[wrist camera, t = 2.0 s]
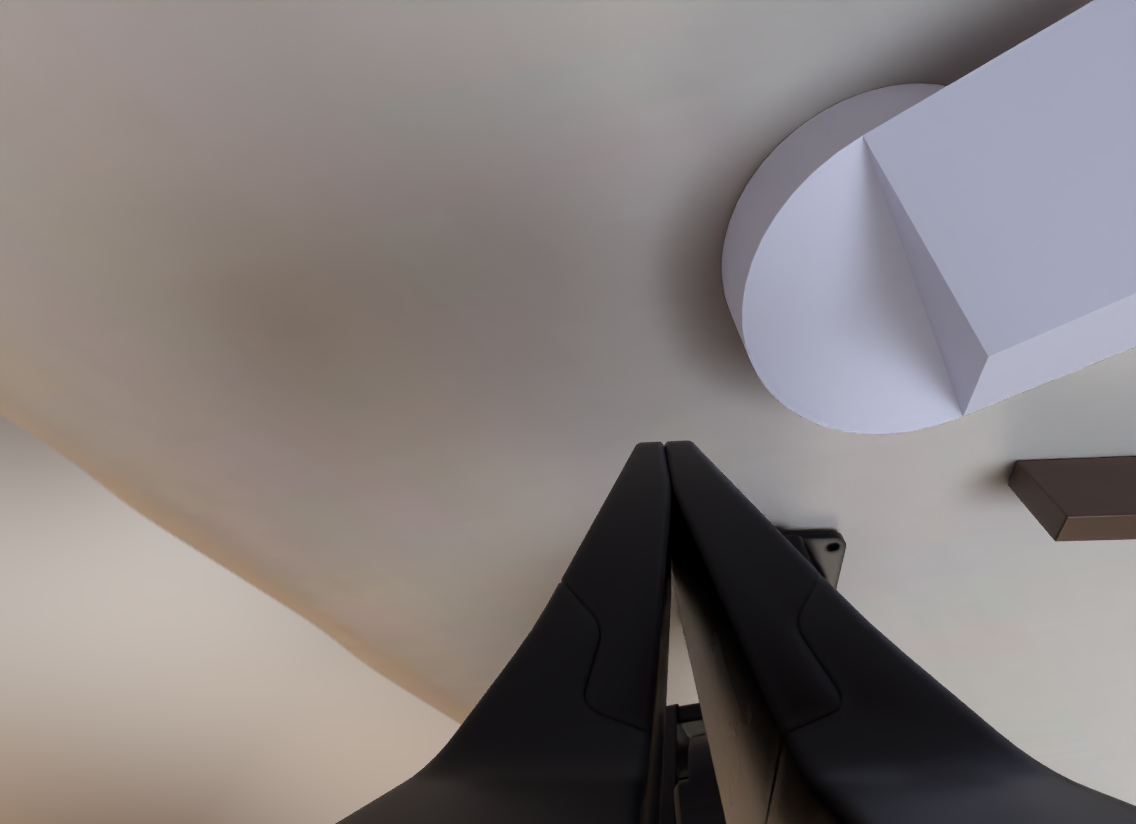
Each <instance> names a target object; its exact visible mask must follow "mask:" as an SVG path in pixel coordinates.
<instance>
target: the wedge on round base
mask: <svg viewBox="0 0 1136 824" xmlns="http://www.w3.org/2000/svg"><path fill="white" fill-rule="evenodd" d="M722 283H723V288H724V294H725V299H726V301H727V304H728V307H729V310H730V313H731V315H732V318H733V320H734V323H735V325H736V327H737V330H738V332H739V335H740V337H741V340H742V342H743V344H744V347H745V349H746V352H747V354H748V356H749V359H750V361H751V364H752V366H753V367H754V369H755V371H756V373H757V375H758V377H759V378H760V380H761V381H762V383H763V384H764V385H765V387H766V388H767V389H768V390H769V392H770V393H771V394H772V395H773V396H774V397H775V398H776V399H777V400H778V401H780V402H781V403H782V404H783V405H784V406H785V407H787V408H788V409H790V410H791V411H793V412H794V413H796V414H797V415H799V416H800V417H803V418H805V419H807V420H809V421H811V422H813V423H816V424H818V425H821V426H825V427H828V428H831V429H834V430H839V431H845V432H851V433H860V434H894V433H902V432H909V431H915V430H921V429H925V428H929V427H933V426H937V425H941V424H944V423H946V422H949V421H952V420H955V419H958V418H961V417H963V416H966V415H968V414H971V413H973V412H976V411H978V410H981V409H983V408H986V407H988V406H991V405H993V404H996V403H998V402H1001V401H1003V400H1005V399H1008V398H1010V397H1013V396H1015V395H1018V394H1020V393H1023V392H1025V391H1028V390H1030V389H1033V388H1035V387H1038V386H1040V385H1043V384H1045V383H1048V382H1050V381H1052V380H1055V379H1057V378H1060V377H1062V376H1065V375H1067V374H1070V373H1072V372H1075V371H1077V370H1080V369H1082V368H1085V367H1087V366H1090V365H1092V364H1095V363H1097V362H1100V361H1102V360H1104V359H1107V358H1109V357H1112V356H1114V355H1117V354H1119V353H1122V352H1124V351H1127V350H1129V349H1132V348H1134V347H1136V0H1093V1H1092V2H1090V3H1088V4H1087V5H1085V6H1083V7H1081V8H1080V9H1078V10H1076V11H1075V12H1073V13H1071V14H1069V15H1068V16H1066V17H1064V18H1063V19H1061V20H1059V21H1057V22H1056V23H1054V24H1052V25H1051V26H1049V27H1047V28H1046V29H1044V30H1042V31H1040V32H1039V33H1037V34H1035V35H1034V36H1032V37H1030V38H1028V39H1027V40H1025V41H1023V42H1022V43H1020V44H1018V45H1016V46H1015V47H1013V48H1011V49H1010V50H1008V51H1006V52H1004V53H1003V54H1001V55H999V56H998V57H996V58H994V59H993V60H991V61H989V62H987V63H986V64H984V65H982V66H981V67H979V68H977V69H975V70H974V71H972V72H970V73H969V74H967V75H965V76H963V77H962V78H960V79H958V80H957V81H955V82H953V83H952V84H950V85H948V86H943V85H938V84H918V83H913V84H903V85H894V86H887V87H883V88H879V89H875V90H871V91H867V92H864V93H861V94H859V95H856V96H854V97H851V98H848V99H846V100H843V101H841V102H839V103H837V104H835V105H833V106H832V107H830V108H828V109H826V110H824V111H822V112H820V113H818V114H817V115H816V116H814V117H813V118H811V119H810V120H808V121H807V122H806V123H804V124H803V125H801V126H800V127H798V128H797V129H796V130H795V131H794V132H792V133H791V134H790V135H789V136H788V137H787V138H786V139H785V140H783V141H782V142H781V143H780V144H779V145H778V146H777V147H776V148H775V149H774V150H773V151H772V153H771V154H770V155H769V156H768V157H767V158H766V159H765V160H764V161H763V163H762V164H761V165H760V167H759V168H758V169H757V171H756V172H755V174H754V175H753V176H752V178H751V179H750V181H749V182H748V184H747V185H746V187H745V189H744V191H743V193H742V194H741V196H740V198H739V200H738V202H737V204H736V206H735V209H734V211H733V214H732V217H731V219H730V222H729V225H728V229H727V233H726V236H725V240H724V246H723V255H722Z"/></svg>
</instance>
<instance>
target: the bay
mask: <svg viewBox="0 0 1136 824" xmlns="http://www.w3.org/2000/svg"><path fill="white" fill-rule="evenodd" d="M1008 486H1009V487H1010V488H1011V489H1012V491H1013V492H1014V493H1015V494H1016V495H1017V497H1018V498H1019V499H1020V500H1021V501H1022V502H1023V504H1024V505H1025V506H1026V507H1027V508H1028V510H1029V511H1030V512H1031V513H1032V514H1033V516H1034V517H1035V518H1036V519H1037V520H1038V521H1039V523H1040V524H1041V525H1042V526H1043V527H1044V529H1045V530H1046V531H1047V532H1048V533H1049V535H1050V536H1051V537H1052V538H1053V539H1054V540H1055V541H1087V540H1125V539H1136V457H1114V458H1087V459H1061V460H1035V461H1018V462H1017V463H1016V465H1015V468H1014V470H1013V473H1012V475H1011V477H1010V480H1009V482H1008Z"/></svg>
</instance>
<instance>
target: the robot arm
mask: <svg viewBox="0 0 1136 824" xmlns="http://www.w3.org/2000/svg"><path fill="white" fill-rule="evenodd" d="M831 543H833V544H831ZM845 549H846V543H845V541H844V538H843V536H842V535H841V534H840V533H838V532H833V531H830V532H795V533H780V532H779V531H778V530H777V529H776V528H775V527H774V526H773V525H772V524H771V522H770V521H769V520H768V519H767V518H766V517H765V516H764V515H763V514H762V513H761V512H760V511H759V510H758V509H757V508H756V507H755V506H754V505H753V504H752V503H751V502H750V501H749V500H748V499H747V498H746V497H745V496H744V495H743V494H742V493H741V492H740V491H739V490H738V489H737V488H736V487H735V485H734V484H733V483H732V482H731V481H730V480H729V479H728V478H727V477H726V476H725V475H724V474H723V473H722V472H721V471H720V470H719V469H718V468H717V467H716V466H715V465H714V464H713V463H712V462H711V461H710V460H709V459H708V458H707V457H706V456H705V455H704V454H703V453H702V452H701V451H700V449H699V448H698V447H697V446H696V445H695V444H694V443H693V442H691V441H669V442H666V443H665V445H663V443H661V442H643V443H638V444H637V445H636V446H635V448H634V450H633V452H632V453H631V455H630V457H629V459H628V461H627V462H626V464H625V466H624V468H623V470H622V471H621V473H620V475H619V477H618V479H617V480H616V482H615V484H614V486H613V488H612V489H611V491H610V493H609V495H608V497H607V498H606V500H605V502H604V504H603V506H602V507H601V509H600V511H599V513H598V515H597V516H596V518H595V520H594V522H593V523H592V525H591V527H590V529H589V531H588V532H587V534H586V536H585V538H584V540H583V541H582V543H581V545H580V547H579V549H578V550H577V552H576V554H575V556H574V558H573V559H572V561H571V563H570V565H569V567H568V568H567V570H566V572H565V574H564V576H563V577H562V579H561V583H559V584H558V586H557V588H556V590H555V591H554V593H553V595H552V597H551V599H550V600H549V602H548V604H547V605H546V607H545V609H544V610H543V612H542V614H541V615H540V617H539V619H538V620H537V622H536V624H535V625H534V627H533V629H532V630H531V632H530V633H529V634H528V636H527V637H526V639H525V640H524V641H523V643H522V644H521V646H520V647H519V649H518V650H517V651H516V653H515V654H514V656H513V657H512V658H511V660H510V661H509V662H508V664H507V665H506V666H505V668H504V669H503V670H502V672H501V673H500V674H499V676H498V677H497V678H496V680H495V681H494V682H493V684H492V685H491V686H490V688H489V689H488V690H487V692H486V693H485V694H484V696H483V697H482V698H481V700H480V701H479V702H478V704H477V705H476V706H475V708H474V709H473V710H472V712H471V713H470V714H469V716H468V717H467V718H466V720H465V721H464V722H463V724H462V725H461V726H460V728H459V729H458V730H457V732H456V733H455V734H454V736H453V737H452V738H451V739H450V741H449V742H448V743H447V744H446V746H445V747H444V748H443V749H442V750H441V751H440V752H439V754H437V756H436V757H435V758H434V759H432V761H430V763H428V764H427V765H426V766H425V767H424V768H423V769H422V770H420V771H419V772H418V773H417V774H415V775H414V776H413V777H412V778H410V779H409V780H407V781H405V782H404V783H402V784H400V785H399V786H397V787H395V788H394V789H392V790H391V791H389V792H387V793H386V794H384V795H382V796H381V797H379V798H377V799H376V800H374V801H372V802H371V803H369V804H368V805H366V806H364V807H362V808H361V809H359V810H357V811H356V812H354V813H353V814H351V815H349V816H348V817H346V818H344V819H343V820H341V821H339V822H338V823H336V824H1136V806H1134V805H1132V804H1129V803H1127V802H1124V801H1122V800H1119V799H1116V798H1114V797H1111V796H1109V795H1106V794H1104V793H1101V792H1098V791H1096V790H1093V789H1091V788H1088V787H1086V786H1083V785H1081V784H1079V783H1076V782H1074V781H1072V780H1070V779H1068V778H1066V777H1064V776H1062V775H1060V774H1058V773H1056V772H1055V771H1053V770H1051V769H1050V768H1048V767H1046V766H1045V765H1043V764H1041V763H1040V762H1038V761H1036V760H1035V759H1033V758H1032V757H1031V756H1029V755H1028V754H1026V753H1025V752H1023V751H1022V750H1021V749H1019V748H1018V747H1016V746H1015V745H1014V744H1012V743H1011V742H1010V741H1009V740H1007V739H1006V738H1005V737H1004V736H1002V735H1001V734H1000V733H999V732H997V731H996V730H995V729H994V728H993V727H991V726H990V725H989V724H988V723H987V722H985V721H984V720H983V719H982V718H981V717H980V716H978V715H977V714H976V713H975V712H974V711H972V710H971V709H970V708H969V707H968V706H966V705H965V704H964V703H963V702H962V701H960V700H959V699H958V698H957V697H956V696H955V695H953V694H952V693H951V692H950V691H949V690H947V689H946V688H945V687H944V686H943V685H941V684H940V683H939V682H938V681H937V680H935V679H934V678H933V677H932V676H931V675H930V674H928V673H927V672H926V671H925V670H924V669H922V668H921V667H920V666H919V665H918V664H916V663H915V662H914V661H913V660H912V659H911V658H909V657H908V656H907V655H906V654H905V653H904V652H902V651H901V650H900V649H899V648H898V647H897V646H896V645H894V644H893V643H892V642H891V641H890V640H889V639H888V638H886V637H885V636H884V635H883V634H882V633H881V632H880V631H878V630H877V629H876V628H875V627H874V626H873V625H872V624H871V623H870V622H868V621H867V620H866V619H865V618H864V617H863V616H862V615H861V614H860V613H859V612H858V611H857V610H856V609H855V608H854V607H853V606H852V605H851V604H850V603H849V602H848V601H847V600H846V599H845V598H844V597H843V596H842V595H841V594H840V593H839V592H838V591H837V590H836V587H837V583H838V579H839V575H840V570H841V566H842V562H843V558H844V553H845ZM671 571H672V579H673V584H674V590H675V595H676V599H677V604H678V608H679V613H680V617H681V622H682V626H683V633H684V636H685V640H686V644H687V649H688V653H689V658H690V662H691V667H692V671H693V676H694V680H695V685H696V689H697V694H698V698H699V703H695V704H690V705H684V706H679V705H678V704H674V705H669V706H666V697H667V675H668V653H669V631H670V609H671Z"/></svg>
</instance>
